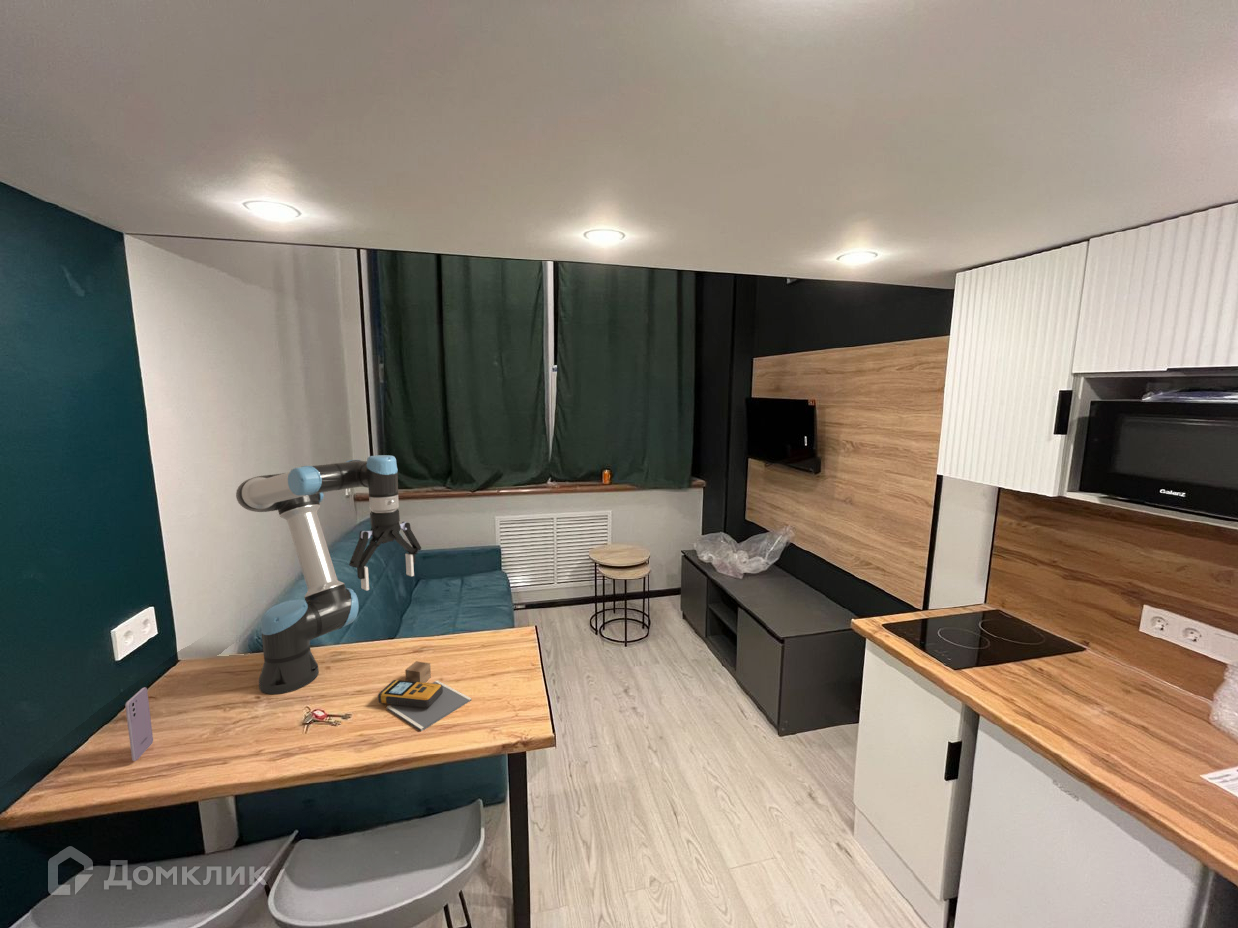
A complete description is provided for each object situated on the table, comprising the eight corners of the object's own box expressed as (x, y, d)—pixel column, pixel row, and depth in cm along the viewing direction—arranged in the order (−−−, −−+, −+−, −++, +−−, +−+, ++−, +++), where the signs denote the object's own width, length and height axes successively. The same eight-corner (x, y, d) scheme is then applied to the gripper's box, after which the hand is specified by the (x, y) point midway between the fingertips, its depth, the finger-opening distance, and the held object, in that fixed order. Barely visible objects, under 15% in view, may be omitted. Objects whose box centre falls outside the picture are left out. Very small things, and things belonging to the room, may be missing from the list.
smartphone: (150, 742, 122) (143, 686, 120) (154, 741, 122) (147, 685, 120) (131, 762, 115) (124, 703, 113) (136, 762, 115) (129, 702, 113)
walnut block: (406, 685, 147) (405, 669, 146) (416, 676, 152) (416, 661, 151) (420, 687, 146) (419, 671, 145) (430, 678, 151) (430, 663, 150)
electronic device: (428, 711, 133) (427, 699, 133) (377, 705, 136) (376, 693, 136) (444, 692, 141) (444, 682, 141) (396, 687, 144) (395, 676, 144)
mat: (386, 709, 135) (386, 706, 135) (437, 682, 148) (437, 680, 148) (421, 731, 126) (421, 728, 126) (471, 700, 139) (471, 698, 139)
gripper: (346, 520, 126) (351, 598, 129) (431, 504, 147) (434, 572, 149) (332, 516, 131) (337, 592, 133) (416, 501, 151) (419, 567, 154)
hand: (388, 581), depth 141 cm, fingers open, 13 cm apart
